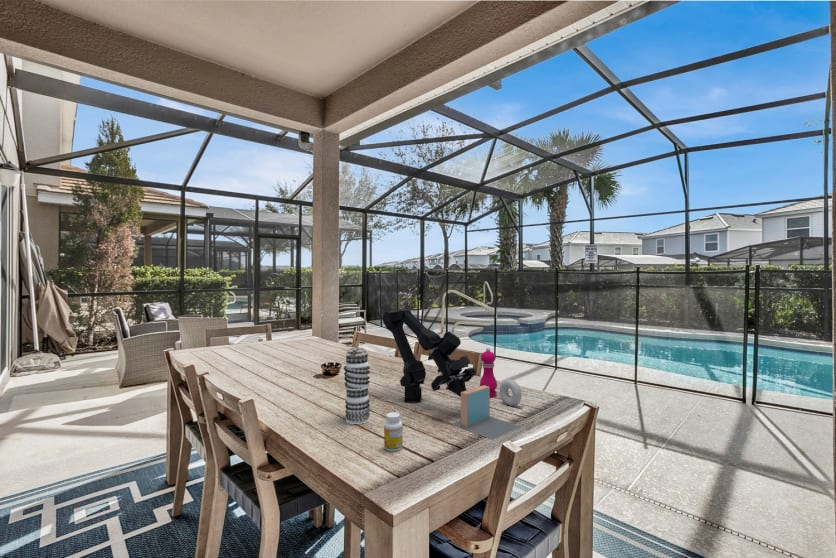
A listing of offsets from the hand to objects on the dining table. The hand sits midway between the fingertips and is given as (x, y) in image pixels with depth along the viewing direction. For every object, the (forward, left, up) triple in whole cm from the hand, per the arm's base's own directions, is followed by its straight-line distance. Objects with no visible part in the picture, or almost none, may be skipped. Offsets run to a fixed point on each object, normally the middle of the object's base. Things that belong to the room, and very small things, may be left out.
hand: (466, 399), depth 132 cm
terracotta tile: (+3, -3, -7) cm, 8 cm away
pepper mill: (+13, +27, -7) cm, 31 cm away
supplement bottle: (-24, -21, -7) cm, 33 cm away
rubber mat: (+5, -6, -7) cm, 11 cm away
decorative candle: (-38, +1, -7) cm, 39 cm away
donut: (+19, +14, -7) cm, 24 cm away
